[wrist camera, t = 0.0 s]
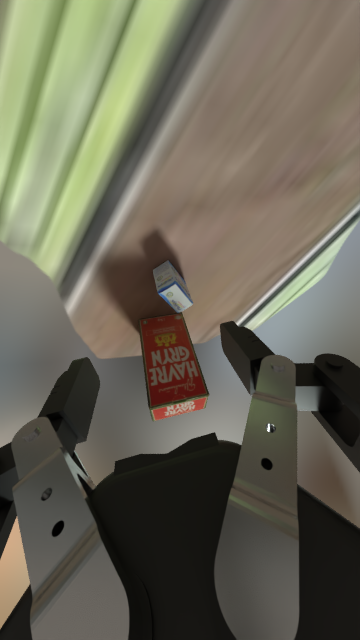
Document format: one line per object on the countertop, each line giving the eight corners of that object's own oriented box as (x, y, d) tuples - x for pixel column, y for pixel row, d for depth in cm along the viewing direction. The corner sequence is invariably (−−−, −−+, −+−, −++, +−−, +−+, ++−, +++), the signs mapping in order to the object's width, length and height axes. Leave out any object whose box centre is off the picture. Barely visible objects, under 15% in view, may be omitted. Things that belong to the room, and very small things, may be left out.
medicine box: (185, 281, 48) (194, 304, 43) (170, 290, 49) (177, 314, 44) (167, 258, 43) (176, 282, 37) (151, 269, 44) (157, 294, 38)
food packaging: (183, 311, 56) (211, 395, 40) (182, 331, 63) (206, 409, 47) (137, 318, 54) (147, 410, 38) (141, 338, 61) (152, 423, 45)
